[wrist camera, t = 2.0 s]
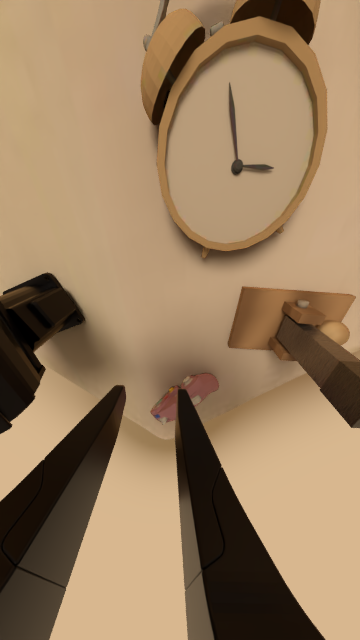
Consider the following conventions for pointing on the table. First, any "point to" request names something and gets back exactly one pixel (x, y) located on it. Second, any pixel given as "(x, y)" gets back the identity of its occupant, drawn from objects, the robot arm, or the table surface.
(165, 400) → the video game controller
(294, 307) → the base
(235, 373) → the table surface
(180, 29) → the alarm clock
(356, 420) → the lever
